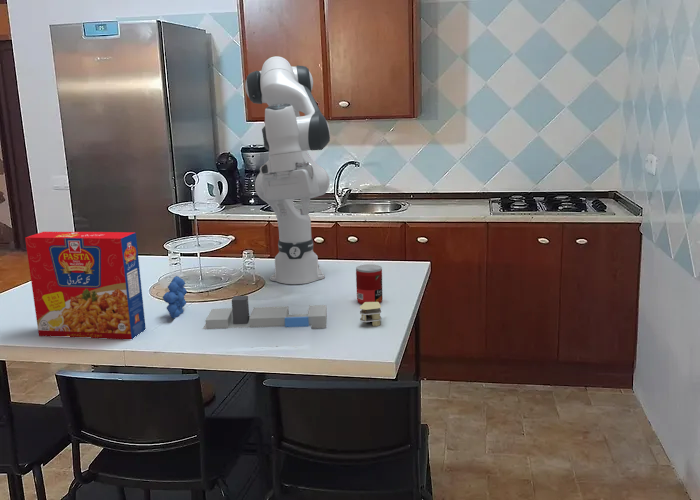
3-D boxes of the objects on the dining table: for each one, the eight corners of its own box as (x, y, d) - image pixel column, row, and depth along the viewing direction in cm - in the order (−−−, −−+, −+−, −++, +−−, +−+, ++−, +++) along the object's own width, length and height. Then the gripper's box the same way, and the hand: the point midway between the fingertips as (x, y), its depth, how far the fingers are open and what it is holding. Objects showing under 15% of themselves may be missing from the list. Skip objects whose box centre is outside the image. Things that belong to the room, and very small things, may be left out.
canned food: (380, 305, 209) (379, 270, 207) (354, 305, 211) (353, 270, 208) (384, 298, 216) (383, 264, 214) (359, 297, 218) (358, 263, 215)
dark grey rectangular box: (235, 319, 197) (233, 296, 196) (249, 319, 197) (247, 295, 196) (233, 324, 194) (231, 300, 192) (247, 323, 194) (245, 299, 192)
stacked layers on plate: (355, 319, 199) (354, 300, 198) (386, 318, 199) (386, 300, 197) (354, 330, 189) (354, 311, 188) (387, 330, 189) (387, 311, 188)
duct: (209, 320, 200) (208, 309, 200) (326, 316, 201) (326, 305, 200) (202, 333, 190) (201, 321, 189) (326, 329, 190) (325, 316, 189)
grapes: (171, 310, 211) (167, 272, 209) (192, 310, 211) (189, 272, 208) (156, 322, 200) (153, 282, 197) (179, 323, 199) (175, 282, 197)
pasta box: (38, 336, 192) (25, 237, 186) (56, 326, 200) (43, 231, 194) (131, 339, 187) (120, 238, 181) (145, 329, 194) (135, 232, 188)
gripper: (320, 159, 181) (327, 212, 182) (274, 166, 196) (281, 215, 197) (301, 162, 176) (309, 215, 178) (255, 168, 192) (263, 218, 193)
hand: (294, 215), depth 188 cm, fingers open, 8 cm apart
